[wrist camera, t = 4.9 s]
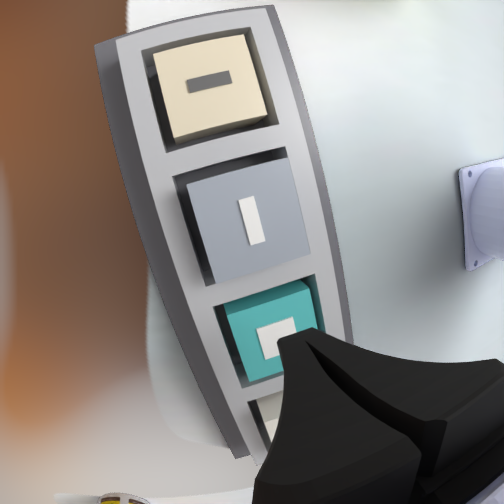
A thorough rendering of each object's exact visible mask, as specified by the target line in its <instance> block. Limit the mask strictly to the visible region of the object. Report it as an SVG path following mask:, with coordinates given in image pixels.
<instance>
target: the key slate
mask: <svg viewBox="0 0 504 504" xmlns="http://www.w3.org/2000/svg"><path fill="white" fill-rule="evenodd" d="M186 185H187V189H188V192H189V196H190V199H191V203H192V206H193V210H194V213H195V217H196V220H197V223H198V227H199V230H200V233H201V237H202V240H203V243H204V247H205V250H206V253H207V256H208V260H209V263H210V266H211V269H212V272H213V276H214V279H215V282H216V284H218V283H221V282H224V281H228V280H231V279H234V278H237V277H240V276H244V275H247V274H250V273H253V272H256V271H259V270H263V269H266V268H269V267H272V266H275V265H278V264H281V263H285V262H288V261H291V260H294V259H297V258H300V257H303V256H306V255H309V254H310V249H309V244H308V240H307V235H306V231H305V226H304V222H303V217H302V213H301V209H300V204H299V200H298V196H297V192H296V188H295V184H294V179H293V175H292V171H291V167H290V163H289V159H288V158H283V159H278V160H273V161H269V162H265V163H261V164H257V165H253V166H249V167H245V168H241V169H237V170H234V171H230V172H226V173H223V174H219V175H216V176H212V177H209V178H205V179H202V180H198V181H195V182H191V183H188V184H186Z"/></svg>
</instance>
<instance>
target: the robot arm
mask: <svg viewBox="0 0 504 504" xmlns="http://www.w3.org/2000/svg"><path fill="white" fill-rule="evenodd" d="M459 181H460V189H461V198H462V208H463V220H464V235H465V266H466V270H468V271H473V270H475V269H477V268H478V267H480V266H482V265H484V264H485V263H487V262H489V261H490V260H492V259H494V258H497V259H500V260H503V261H504V158H502V159H497V160H493V161H489V162H485V163H481V164H477V165H473V166H469V167H464V168H461V169H460V171H459ZM277 346H278V350H279V354H280V358H281V362H282V366H283V370H284V387H283V398H282V405H281V411H280V416H279V420H278V425H277V428H276V432H275V435H274V438H273V440H272V443H271V446H270V449H269V451H268V454H267V456H266V458H265V460H264V462H263V464H262V466H261V469H260V470H259V472H258V474H257V477H256V478H255V483H254V490H253V499H252V504H504V364H503V363H502V362H500V361H499V360H497V359H489V360H481V361H473V362H460V363H436V362H423V361H413V360H407V359H401V358H396V357H391V356H387V355H383V354H379V353H376V352H373V351H369V350H366V349H363V348H360V347H358V346H355V345H352V344H350V343H347V342H345V341H342V340H340V339H338V338H335V337H333V336H331V335H329V334H327V333H324V332H322V331H320V330H318V329H316V328H313V327H311V328H308V329H305V330H302V331H299V332H296V333H294V334H291V335H288V336H285V337H282V338H279V339H278V341H277Z"/></svg>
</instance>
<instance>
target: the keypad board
mask: <svg viewBox="0 0 504 504" xmlns="http://www.w3.org/2000/svg"><path fill="white" fill-rule="evenodd" d="M242 34H244V37H245V40H246V44H247V47H248V50H249V53H250V57H251V60H252V63H253V67H254V70H255V73H256V77H257V80H258V84H259V87H260V90H261V94H262V97H263V101H264V104H265V108H266V112H267V115H266V116H265V117H264V118H262V119H261V120H260V121H259V122H257V123H256V124H255V125H250V126H246V127H242V128H237V129H233V130H229V131H225V132H221V133H217V134H213V135H209V136H206V137H202V138H198V139H195V140H191V141H188V142H184V143H181V144H177V145H176V143H175V140H174V137H173V133H172V129H171V125H170V121H169V117H168V113H167V110H166V106H165V102H164V98H163V94H162V89H161V85H160V81H159V77H158V73H157V69H156V64H155V60H154V56H153V54H155V53H158V52H162V51H166V50H169V49H173V48H177V47H181V46H185V45H190V44H194V43H199V42H203V41H208V40H213V39H219V38H224V37H230V36H236V35H242ZM94 49H95V55H96V62H97V67H98V73H99V78H100V84H101V89H102V94H103V99H104V104H105V108H106V113H107V117H108V122H109V126H110V130H111V135H112V138H113V143H114V147H115V151H116V155H117V159H118V162H119V166H120V170H121V174H122V177H123V181H124V185H125V188H126V192H127V195H128V198H129V202H130V205H131V208H132V212H133V215H134V218H135V221H136V225H137V228H138V231H139V234H140V237H141V240H142V243H143V246H144V249H145V252H146V255H147V258H148V261H149V264H150V267H151V269H152V272H153V275H154V278H155V281H156V283H157V286H158V289H159V291H160V294H161V297H162V299H163V302H164V305H165V307H166V310H167V312H168V315H169V317H170V320H171V322H172V325H173V327H174V330H175V332H176V335H177V337H178V339H179V342H180V344H181V347H182V349H183V351H184V354H185V356H186V358H187V361H188V363H189V365H190V367H191V370H192V372H193V374H194V376H195V379H196V381H197V383H198V385H199V387H200V389H201V392H202V394H203V396H204V398H205V400H206V402H207V404H208V406H209V408H210V410H211V413H212V415H213V417H214V419H215V421H216V423H217V425H218V427H219V429H220V431H221V432H222V434H223V436H224V438H225V440H226V442H227V444H228V446H229V448H230V450H231V452H232V453H233V455H234V457H235V459H236V458H241V457H244V456H248V455H251V456H252V458H253V460H254V462H255V464H256V466H258V465H261V464H263V462H264V460H265V458H266V456H267V454H268V451H269V449H270V446H271V443H272V442H271V440H270V437H269V434H268V432H267V429H266V426H265V424H264V421H263V418H262V415H261V413H260V410H259V407H258V404H257V401H256V399H258V398H261V397H264V396H267V395H270V394H273V393H276V392H278V391H281V390H283V387H284V371H281V372H278V373H275V374H272V375H269V376H266V377H264V378H260V379H257V380H254V381H251V382H249V379H248V376H247V373H246V371H245V368H244V365H243V362H242V359H241V356H240V353H239V350H238V348H237V345H236V342H235V339H234V336H233V333H232V330H231V327H230V324H229V321H228V318H227V315H226V311H225V308H224V305H223V303H226V302H229V301H232V300H236V299H239V298H242V297H245V296H248V295H251V294H254V293H258V292H261V291H264V290H267V289H270V288H273V287H276V286H279V285H282V284H285V283H288V282H291V281H294V280H297V279H300V280H301V281H302V282H303V283H304V284H305V285H306V286H308V287H309V289H310V294H311V299H312V303H313V308H314V313H315V318H316V324H317V329H318V330H320V331H322V332H324V333H327V334H329V335H331V336H333V337H335V338H338V339H340V340H342V341H345V342H347V343H350V344H352V345H354V343H353V335H352V327H351V319H350V312H349V305H348V298H347V292H346V285H345V279H344V273H343V267H342V261H341V256H340V250H339V245H338V239H337V234H336V229H335V224H334V219H333V214H332V209H331V204H330V200H329V195H328V190H327V186H326V182H325V177H324V173H323V169H322V164H321V160H320V156H319V152H318V148H317V144H316V140H315V136H314V132H313V129H312V125H311V121H310V117H309V114H308V110H307V106H306V103H305V99H304V96H303V92H302V89H301V86H300V82H299V79H298V76H297V72H296V69H295V66H294V63H293V60H292V57H291V53H290V50H289V47H288V44H287V41H286V38H285V35H284V32H283V30H282V27H281V24H280V21H279V18H278V15H277V13H276V10H275V7H274V5H265V6H255V7H246V8H238V9H230V10H224V11H217V12H212V13H206V14H201V15H196V16H191V17H186V18H182V19H177V20H173V21H169V22H165V23H161V24H157V25H153V26H150V27H146V28H143V29H140V30H136V31H133V32H130V33H127V34H124V35H121V36H118V37H115V38H112V39H109V40H106V41H104V42H101V43H98V44H96V45H94ZM283 158H288V159H289V163H290V167H291V171H292V175H293V179H294V184H295V188H296V192H297V196H298V200H299V204H300V209H301V213H302V217H303V222H304V226H305V231H306V235H307V240H308V244H309V249H310V254H309V255H306V256H303V257H300V258H297V259H294V260H291V261H288V262H285V263H281V264H278V265H275V266H272V267H269V268H266V269H263V270H259V271H256V272H253V273H250V274H247V275H244V276H240V277H237V278H234V279H231V280H228V281H224V282H221V283H218V284H216V282H215V279H214V276H213V272H212V269H211V266H210V263H209V260H208V256H207V253H206V250H205V247H204V243H203V240H202V237H201V233H200V230H199V227H198V223H197V220H196V217H195V213H194V210H193V206H192V203H191V199H190V196H189V192H188V189H187V185H186V184H188V183H191V182H195V181H198V180H202V179H205V178H209V177H212V176H216V175H219V174H223V173H226V172H230V171H234V170H237V169H241V168H245V167H249V166H253V165H257V164H261V163H265V162H269V161H273V160H278V159H283Z"/></svg>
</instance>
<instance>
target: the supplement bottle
mask: <svg viewBox="0 0 504 504" xmlns="http://www.w3.org/2000/svg"><path fill="white" fill-rule="evenodd" d="M97 504H150V503H149V502H147V501H146V500H144V499H142V498H139V497H137V496H133V495H129V494H124V493H109V494H105V495H103V496H101V497H100V498H99V500H98V503H97Z"/></svg>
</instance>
